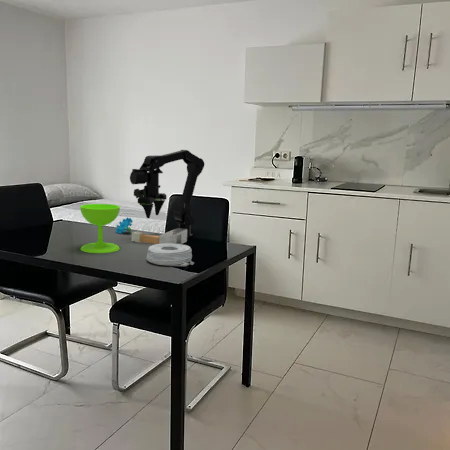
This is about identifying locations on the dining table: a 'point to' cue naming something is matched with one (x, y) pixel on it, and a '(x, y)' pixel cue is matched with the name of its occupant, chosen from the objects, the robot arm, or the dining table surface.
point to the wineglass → (100, 225)
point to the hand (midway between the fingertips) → (152, 216)
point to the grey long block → (174, 236)
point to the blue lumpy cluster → (124, 226)
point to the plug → (144, 238)
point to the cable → (170, 254)
